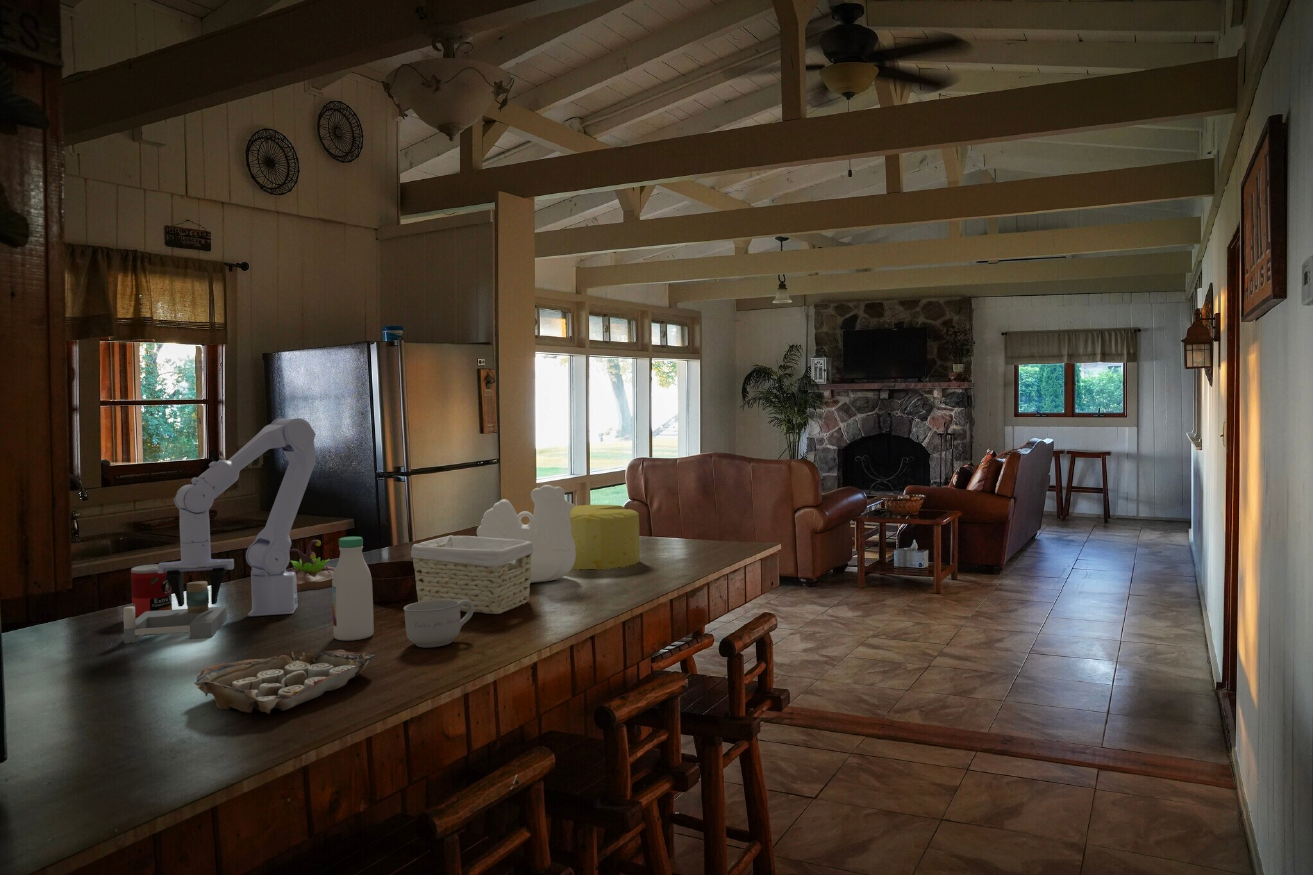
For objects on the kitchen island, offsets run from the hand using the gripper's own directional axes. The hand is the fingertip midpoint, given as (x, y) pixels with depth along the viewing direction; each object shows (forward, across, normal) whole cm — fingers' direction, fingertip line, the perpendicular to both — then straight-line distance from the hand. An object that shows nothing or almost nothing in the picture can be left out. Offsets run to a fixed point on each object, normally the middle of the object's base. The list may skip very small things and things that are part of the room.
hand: (197, 604), depth 200 cm
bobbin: (+1, 0, 0) cm, 1 cm away
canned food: (+5, -12, +12) cm, 18 cm away
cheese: (+5, +94, +47) cm, 105 cm away
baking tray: (+5, +25, -52) cm, 58 cm away
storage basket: (+5, +58, +1) cm, 58 cm away
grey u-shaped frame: (+4, -3, -4) cm, 7 cm away
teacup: (+5, +50, -30) cm, 58 cm away
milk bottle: (+5, +33, -20) cm, 39 cm away
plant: (+5, +18, +41) cm, 45 cm away
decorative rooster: (+5, +73, +26) cm, 78 cm away
